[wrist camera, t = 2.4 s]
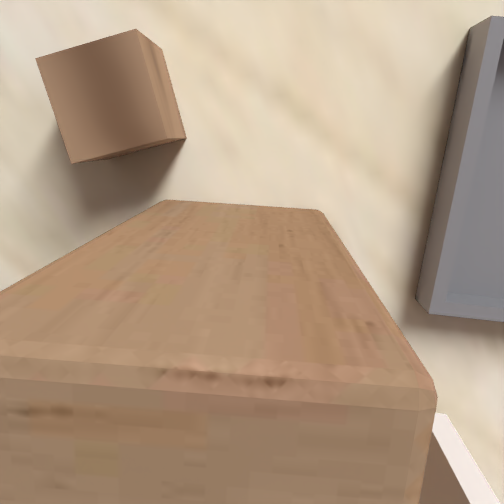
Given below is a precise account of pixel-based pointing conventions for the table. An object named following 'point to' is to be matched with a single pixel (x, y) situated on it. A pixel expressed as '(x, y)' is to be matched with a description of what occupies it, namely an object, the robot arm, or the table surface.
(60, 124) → the walnut cube
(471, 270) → the tray
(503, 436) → the table surface
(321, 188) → the table surface
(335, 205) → the table surface
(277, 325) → the wooden block
